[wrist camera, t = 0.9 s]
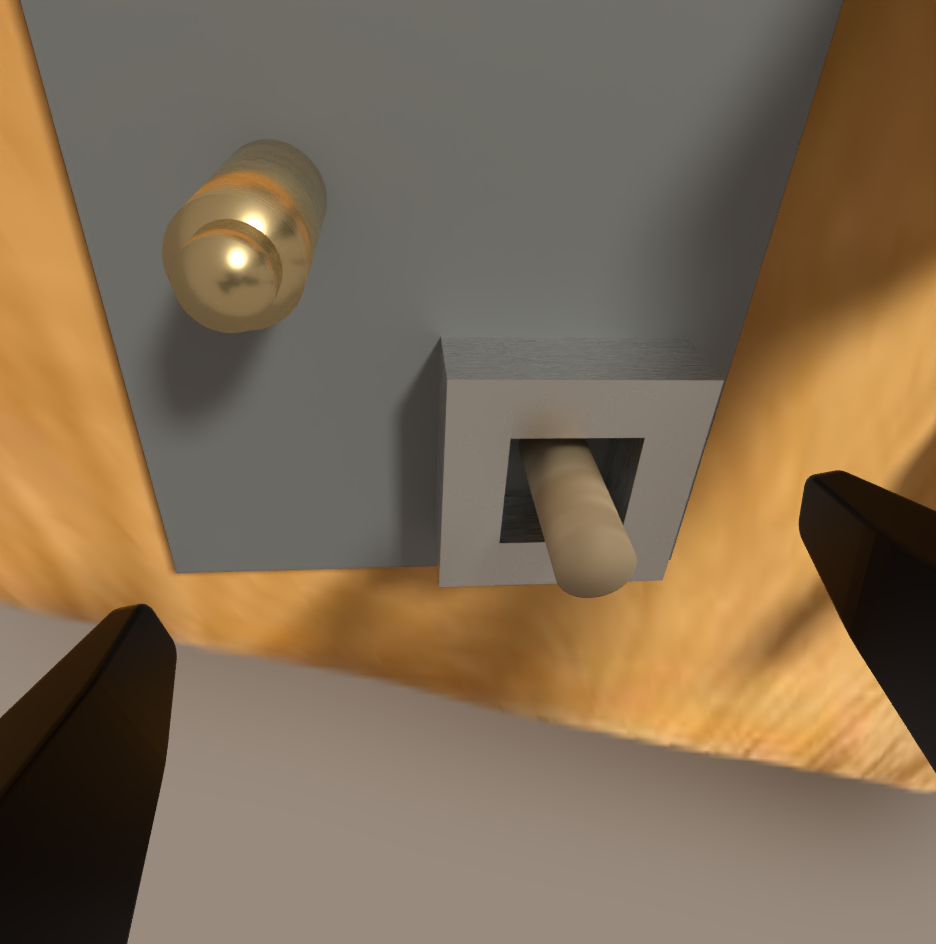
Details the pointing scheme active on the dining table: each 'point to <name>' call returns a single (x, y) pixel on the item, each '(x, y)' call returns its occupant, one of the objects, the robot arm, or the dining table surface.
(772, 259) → the dining table surface
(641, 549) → the square hole block
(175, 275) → the brass knobbed cylinder
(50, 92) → the board
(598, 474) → the stand rod
